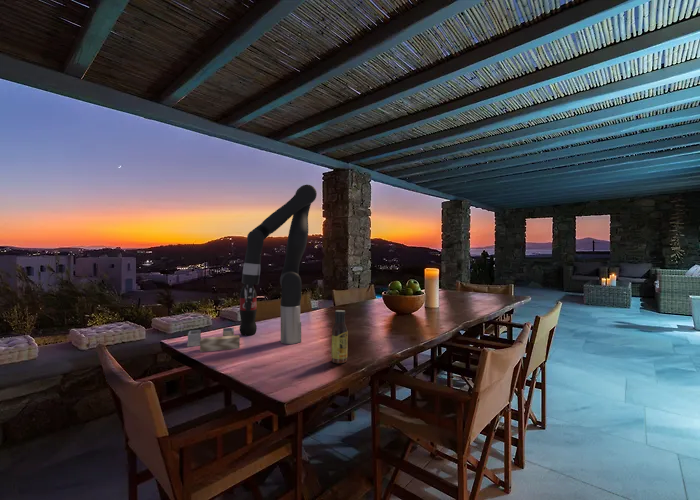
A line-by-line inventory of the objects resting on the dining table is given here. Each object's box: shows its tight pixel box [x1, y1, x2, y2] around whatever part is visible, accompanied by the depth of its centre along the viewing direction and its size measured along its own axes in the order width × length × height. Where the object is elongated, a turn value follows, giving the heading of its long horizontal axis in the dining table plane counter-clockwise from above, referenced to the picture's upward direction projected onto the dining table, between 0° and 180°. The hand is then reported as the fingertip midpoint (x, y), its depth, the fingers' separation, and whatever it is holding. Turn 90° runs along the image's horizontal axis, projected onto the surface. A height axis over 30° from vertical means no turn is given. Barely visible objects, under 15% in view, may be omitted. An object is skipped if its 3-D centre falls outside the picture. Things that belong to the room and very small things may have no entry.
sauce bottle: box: [330, 309, 349, 364], centre depth 128 cm, size 7×6×20 cm
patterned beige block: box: [199, 334, 241, 353], centre depth 144 cm, size 16×4×5 cm, turn 110°
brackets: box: [186, 327, 235, 347], centre depth 154 cm, size 20×8×5 cm, turn 111°
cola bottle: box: [239, 284, 258, 337], centre depth 168 cm, size 8×8×30 cm
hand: (247, 309), depth 148 cm, fingers open, 8 cm apart
